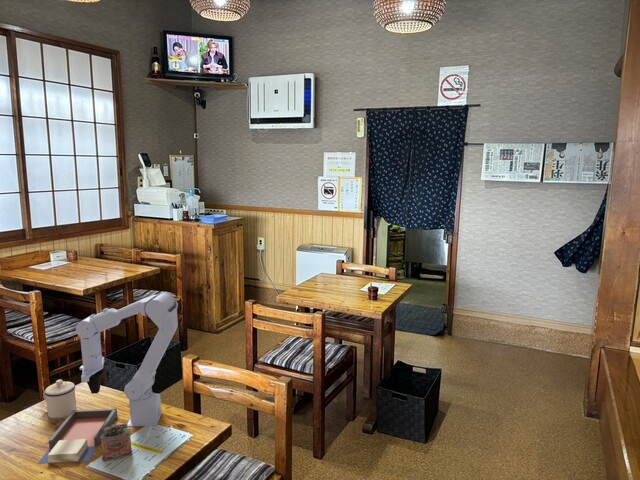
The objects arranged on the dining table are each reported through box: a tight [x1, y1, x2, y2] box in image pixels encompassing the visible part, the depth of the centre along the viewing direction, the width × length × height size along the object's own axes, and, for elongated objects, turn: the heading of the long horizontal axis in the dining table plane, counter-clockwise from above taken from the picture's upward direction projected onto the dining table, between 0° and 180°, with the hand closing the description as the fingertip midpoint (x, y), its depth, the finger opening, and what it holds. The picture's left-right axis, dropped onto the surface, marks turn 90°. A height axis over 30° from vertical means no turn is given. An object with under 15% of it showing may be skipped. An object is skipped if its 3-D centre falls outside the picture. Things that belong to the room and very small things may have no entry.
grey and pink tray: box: [48, 408, 118, 449], centre depth 150 cm, size 14×17×3 cm
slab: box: [48, 439, 88, 464], centre depth 138 cm, size 8×7×2 cm
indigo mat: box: [37, 446, 99, 465], centre depth 138 cm, size 14×7×1 cm, turn 95°
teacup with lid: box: [42, 379, 78, 419], centre depth 161 cm, size 12×9×12 cm
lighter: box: [100, 422, 133, 462], centre depth 137 cm, size 8×3×10 cm, turn 113°
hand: (95, 392), depth 156 cm, fingers closed
